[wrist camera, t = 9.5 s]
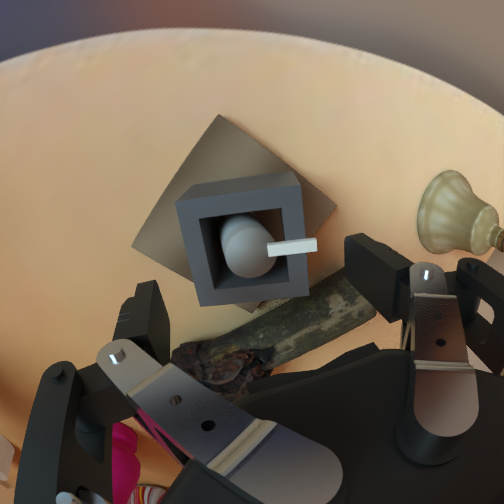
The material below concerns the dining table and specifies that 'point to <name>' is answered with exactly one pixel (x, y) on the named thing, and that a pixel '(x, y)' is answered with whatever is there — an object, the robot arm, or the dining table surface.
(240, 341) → the burnt branch
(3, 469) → the white piece
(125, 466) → the pepper mill
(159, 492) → the soda can
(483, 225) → the hand bell
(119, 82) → the dining table surface
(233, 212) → the gray open box
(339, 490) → the robot arm
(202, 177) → the shaft base
